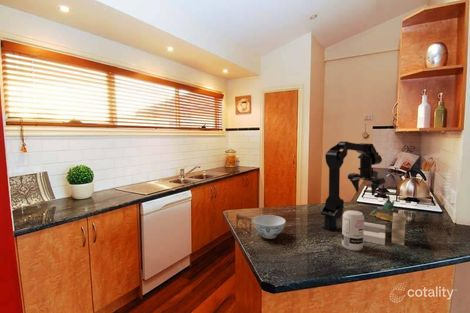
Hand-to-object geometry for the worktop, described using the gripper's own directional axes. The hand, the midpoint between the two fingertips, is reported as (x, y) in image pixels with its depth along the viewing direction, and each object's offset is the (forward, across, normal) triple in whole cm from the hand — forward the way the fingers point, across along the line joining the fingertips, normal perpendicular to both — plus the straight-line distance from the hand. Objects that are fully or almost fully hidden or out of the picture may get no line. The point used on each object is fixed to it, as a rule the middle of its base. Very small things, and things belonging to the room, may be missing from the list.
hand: (365, 193), depth 140 cm
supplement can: (+13, -19, +38) cm, 44 cm away
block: (+14, -26, +16) cm, 33 cm away
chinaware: (+12, +8, +61) cm, 63 cm away
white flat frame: (+14, -15, +19) cm, 28 cm away
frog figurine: (+16, -6, -11) cm, 20 cm away
